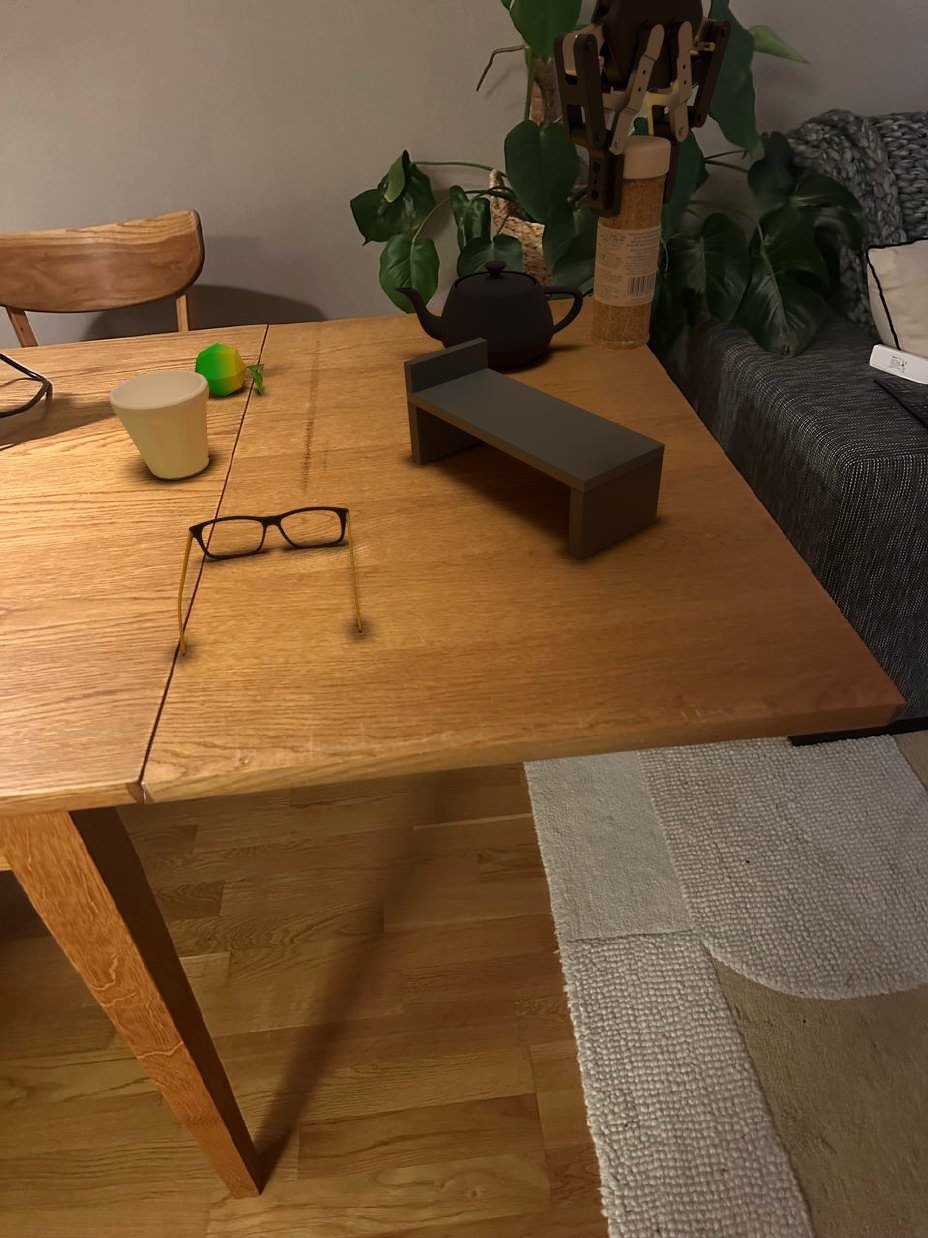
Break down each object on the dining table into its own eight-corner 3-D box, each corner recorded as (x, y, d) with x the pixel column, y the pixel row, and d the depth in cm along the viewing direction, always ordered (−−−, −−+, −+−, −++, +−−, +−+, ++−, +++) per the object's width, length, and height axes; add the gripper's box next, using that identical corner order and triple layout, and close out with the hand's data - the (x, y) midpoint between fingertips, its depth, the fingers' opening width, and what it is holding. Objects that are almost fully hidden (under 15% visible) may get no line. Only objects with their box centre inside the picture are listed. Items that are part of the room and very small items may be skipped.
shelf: (656, 521, 77) (669, 411, 70) (580, 560, 72) (586, 448, 65) (483, 432, 93) (480, 337, 86) (412, 460, 88) (403, 361, 82)
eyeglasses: (353, 537, 76) (347, 501, 74) (362, 632, 65) (356, 593, 63) (199, 556, 75) (189, 519, 73) (182, 656, 64) (168, 617, 61)
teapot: (572, 331, 118) (575, 241, 110) (590, 371, 106) (595, 273, 98) (401, 341, 118) (393, 251, 110) (399, 382, 106) (390, 285, 98)
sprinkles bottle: (635, 328, 64) (655, 131, 55) (658, 348, 60) (683, 142, 52) (580, 334, 63) (591, 136, 55) (600, 355, 60) (616, 147, 51)
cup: (242, 469, 88) (222, 388, 83) (153, 500, 84) (126, 416, 78) (205, 439, 95) (185, 361, 89) (121, 466, 90) (94, 386, 84)
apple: (184, 337, 101) (256, 330, 101) (199, 356, 107) (267, 350, 108) (189, 393, 101) (262, 386, 101) (204, 408, 107) (272, 402, 107)
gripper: (622, -136, 39) (597, 239, 50) (795, -130, 46) (740, 200, 57) (520, -123, 44) (517, 218, 55) (691, -119, 51) (657, 184, 62)
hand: (630, 207), depth 56 cm, fingers closed on sprinkles bottle, 4 cm apart
